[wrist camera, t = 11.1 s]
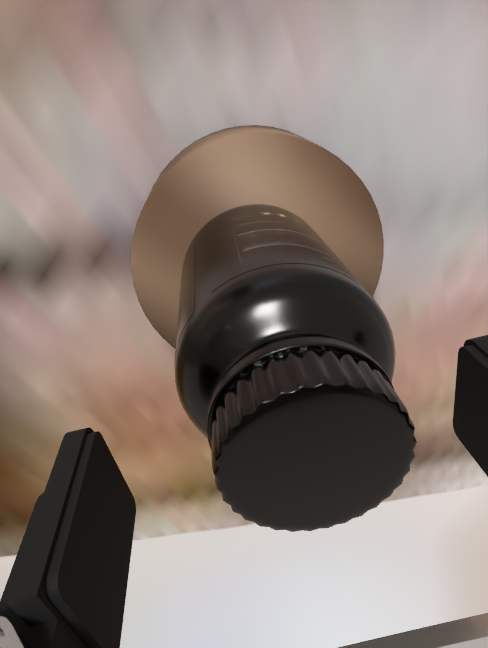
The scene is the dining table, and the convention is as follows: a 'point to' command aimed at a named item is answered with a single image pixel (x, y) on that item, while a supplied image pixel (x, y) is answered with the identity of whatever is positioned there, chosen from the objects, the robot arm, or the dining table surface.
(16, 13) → the dining table surface
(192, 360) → the supplement bottle
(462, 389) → the robot arm
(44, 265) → the dining table surface
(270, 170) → the walnut stand
